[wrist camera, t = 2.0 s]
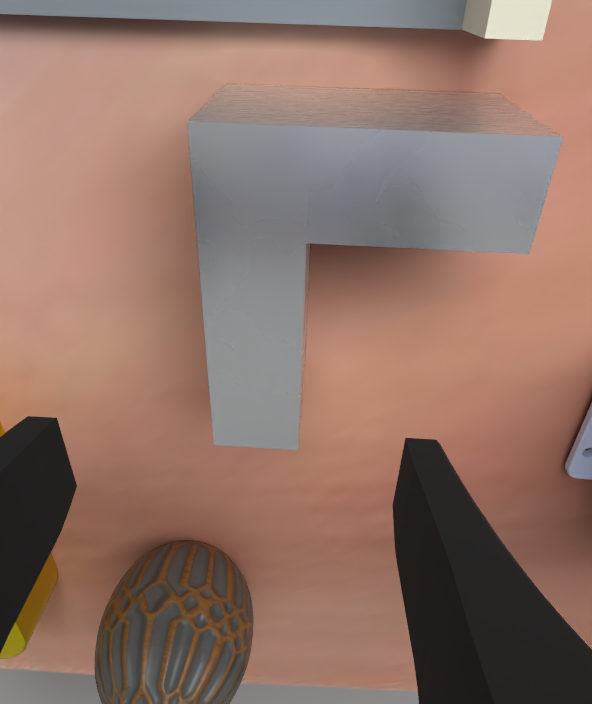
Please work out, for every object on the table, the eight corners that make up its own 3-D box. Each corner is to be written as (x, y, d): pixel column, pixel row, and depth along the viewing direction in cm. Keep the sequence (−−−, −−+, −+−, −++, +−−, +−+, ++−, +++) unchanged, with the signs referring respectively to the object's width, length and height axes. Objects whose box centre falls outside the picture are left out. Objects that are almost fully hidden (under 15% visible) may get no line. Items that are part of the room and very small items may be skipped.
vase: (101, 559, 28) (20, 759, 21) (182, 500, 25) (121, 709, 18) (203, 616, 31) (162, 813, 23) (288, 569, 28) (272, 777, 20)
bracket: (441, 361, 20) (469, 460, 16) (238, 350, 20) (213, 444, 16) (499, 93, 15) (563, 136, 11) (227, 83, 15) (187, 121, 11)
